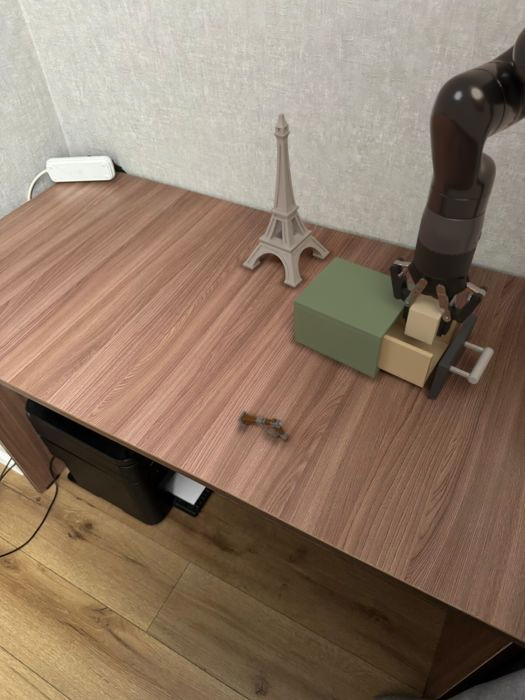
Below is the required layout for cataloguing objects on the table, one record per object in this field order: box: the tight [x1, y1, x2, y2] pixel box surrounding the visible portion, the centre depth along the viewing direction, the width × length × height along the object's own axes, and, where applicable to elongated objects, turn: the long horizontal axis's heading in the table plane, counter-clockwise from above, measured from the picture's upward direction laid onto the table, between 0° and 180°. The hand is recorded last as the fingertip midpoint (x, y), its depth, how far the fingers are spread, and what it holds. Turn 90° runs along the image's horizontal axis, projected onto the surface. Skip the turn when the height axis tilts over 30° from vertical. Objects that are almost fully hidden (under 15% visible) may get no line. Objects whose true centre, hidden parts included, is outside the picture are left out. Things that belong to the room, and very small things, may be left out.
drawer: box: [378, 312, 495, 401], centre depth 78 cm, size 19×13×8 cm, turn 54°
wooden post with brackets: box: [237, 410, 289, 442], centre depth 74 cm, size 2×8×4 cm, turn 60°
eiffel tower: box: [242, 112, 331, 288], centre depth 92 cm, size 13×13×30 cm
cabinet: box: [293, 256, 416, 379], centre depth 83 cm, size 16×14×10 cm
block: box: [404, 293, 442, 345], centre depth 74 cm, size 4×4×6 cm
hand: (424, 326), depth 76 cm, fingers closed on block, 4 cm apart
